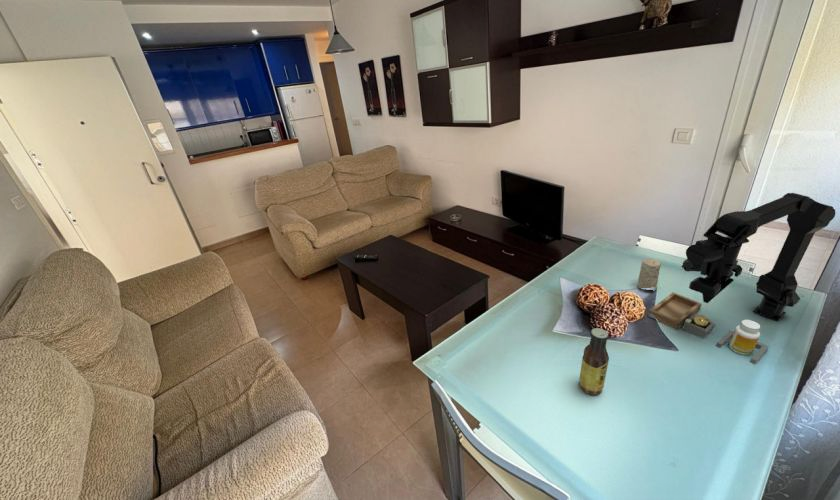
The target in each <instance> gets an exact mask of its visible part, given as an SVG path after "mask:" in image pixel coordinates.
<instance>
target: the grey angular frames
mask: <svg viewBox="0 0 840 500" xmlns="http://www.w3.org/2000/svg"><path fill="white" fill-rule="evenodd" d="M696 315H697V314H694V315H692V316H691V317H690V318H689V319H686V321H685V323H684V324H683V327H682V329H683V330H685V331H687V332H688V333H691V334H693V335H695V336H697V337H700V338H702V339H706V338H707V337H708V336H709V335H710V334H711V333H712V332H713V331H714V329H715V326H716V323H715V322H714V321H711V320H709V321H708V324H707V327H706V329H704V328H701V327H699V326H697V325H695V324H692V323H693V320H694V317H695V316H696ZM733 333H734V331H733V330H731V329H729V330H728V331H727V332H726V333H725V334H724V335H723V336H722V337H721V338H719V340H718V341H717V342H716V344H715V347H716V348H719V349H721V348H722V347H723V346H724V345H725V344H726V343H727V342H728V341H730V340H731V338H732V335H733ZM755 348H756V349H758V350H757V351H756V352H755V353H754V354H753V356H751V358H750V360H749V362H750V363H751V364H754V365H756V364H757V362H759V360H760V359H761V358H762V357H763V355H764V354H766V352H767V351H768V349H769V348H770V346H769V345H766V344H764V343H761V342H759V341H757V343H756V346H755Z"/></svg>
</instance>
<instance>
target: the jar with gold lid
mask: <svg viewBox="0 0 840 500" xmlns="http://www.w3.org/2000/svg"><path fill="white" fill-rule="evenodd" d="M695 315H696V316H695V317H694V320H693V323H692V324H695V325H697V326H699V327H701V328H704V329H706V327H707V324H708V321H710V319H709V318H708V317H706V316H705V315H702V314H695Z"/></svg>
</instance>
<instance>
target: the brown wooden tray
mask: <svg viewBox="0 0 840 500" xmlns="http://www.w3.org/2000/svg"><path fill="white" fill-rule="evenodd" d="M702 305H703V303H702V302H699V301H696V300H693V299H691V298H689V297H686V296H684V295H682V294H679V293H677V292H672V293H670V294H668V296H666V297H665V298H664V299H662V300H661V301H660V302H658V303H656V304H655V305H653V306H652V308H650V309H649V310H648V313H652V314H653V315H654V316H655V318H656V319H657V320H658V321H657V322H658V323H661V324H662V325H665V326H667V327H669V328H671V329H674V330H676V331H677V330H678V329H679V328H680V327H681V326H682V325H683V326H684V323H685V321H686V319H689V318H690V317H691V316H692V315H694V314H695V315H697V313H698V312H699V311H700V310H701V308H702Z"/></svg>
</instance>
